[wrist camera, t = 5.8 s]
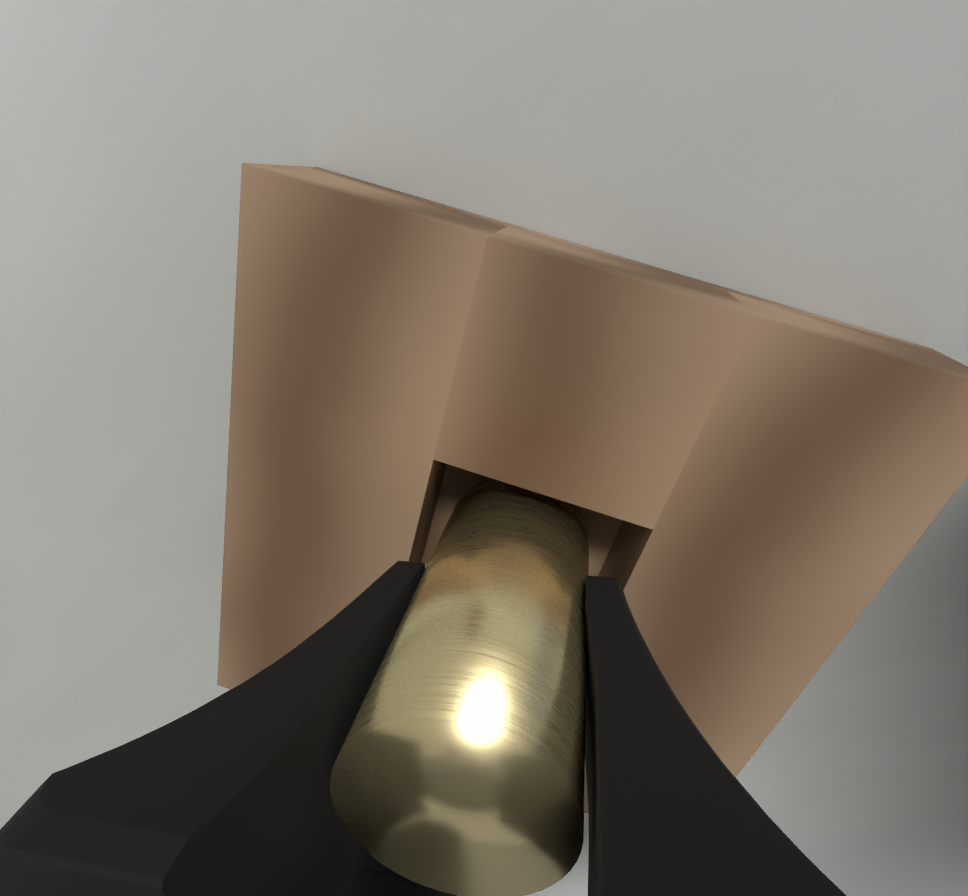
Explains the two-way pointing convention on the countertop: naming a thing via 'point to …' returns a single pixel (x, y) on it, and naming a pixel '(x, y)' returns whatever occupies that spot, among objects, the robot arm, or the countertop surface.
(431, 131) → the countertop surface
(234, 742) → the robot arm
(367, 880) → the drinking cup
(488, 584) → the pin
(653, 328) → the socket block
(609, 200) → the countertop surface
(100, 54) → the countertop surface
